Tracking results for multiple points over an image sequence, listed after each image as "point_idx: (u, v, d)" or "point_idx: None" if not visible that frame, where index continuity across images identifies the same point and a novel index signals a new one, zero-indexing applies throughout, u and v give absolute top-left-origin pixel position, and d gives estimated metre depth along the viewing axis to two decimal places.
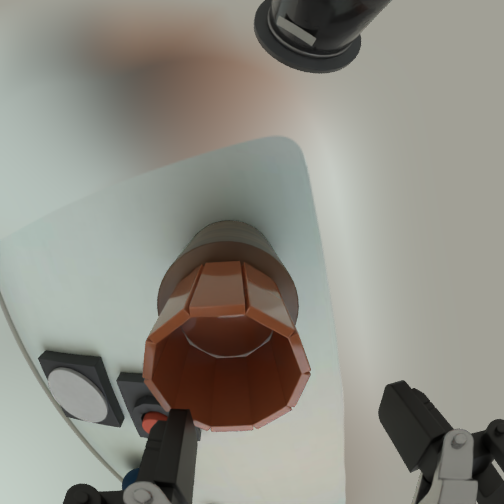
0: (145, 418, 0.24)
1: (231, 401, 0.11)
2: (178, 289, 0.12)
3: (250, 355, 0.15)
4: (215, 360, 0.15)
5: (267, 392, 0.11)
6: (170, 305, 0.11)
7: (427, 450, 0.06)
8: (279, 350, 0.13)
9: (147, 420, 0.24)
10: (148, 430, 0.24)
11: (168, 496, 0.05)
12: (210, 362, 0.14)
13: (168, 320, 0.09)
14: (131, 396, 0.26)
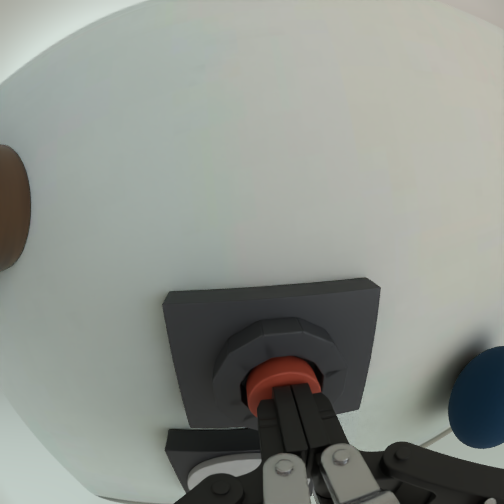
0: None
1: None
2: None
3: None
4: None
5: None
6: None
7: (312, 459, 0.07)
8: None
9: (254, 412, 0.11)
10: None
11: None
12: None
13: None
14: None
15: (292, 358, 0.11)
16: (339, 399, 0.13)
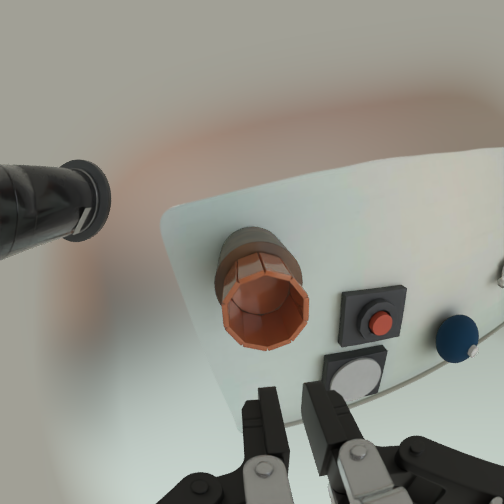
0: (373, 331, 0.34)
1: (298, 301, 0.21)
2: None
3: None
4: (289, 295, 0.25)
5: None
6: None
7: (329, 456, 0.07)
8: None
9: (374, 330, 0.34)
10: (384, 331, 0.34)
11: None
12: (288, 299, 0.24)
13: (231, 335, 0.20)
14: (356, 337, 0.37)
15: (383, 311, 0.34)
16: (392, 330, 0.37)
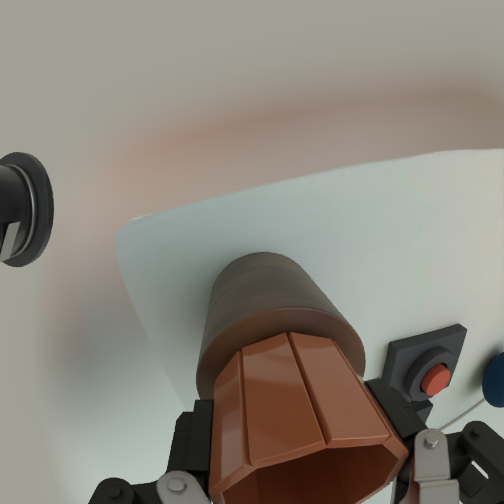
0: None
1: None
2: None
3: None
4: None
5: None
6: None
7: None
8: None
9: (427, 391, 0.20)
10: (439, 389, 0.21)
11: (200, 484, 0.06)
12: None
13: None
14: None
15: (440, 365, 0.21)
16: None
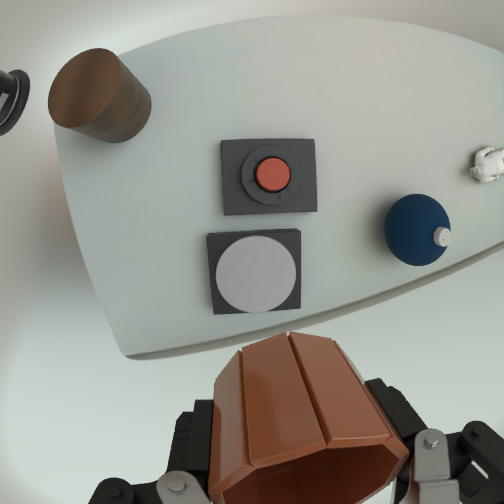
0: (260, 184, 0.27)
1: None
2: None
3: None
4: None
5: None
6: None
7: None
8: None
9: (260, 180, 0.26)
10: (278, 184, 0.26)
11: (200, 484, 0.06)
12: None
13: None
14: (245, 202, 0.29)
15: None
16: (303, 199, 0.29)
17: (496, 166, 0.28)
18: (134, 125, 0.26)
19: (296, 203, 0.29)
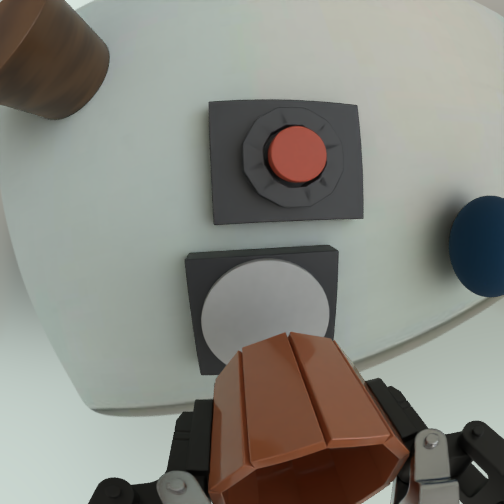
0: (276, 170, 0.15)
1: None
2: None
3: None
4: None
5: None
6: None
7: None
8: None
9: (275, 164, 0.14)
10: (308, 171, 0.15)
11: (200, 484, 0.06)
12: None
13: None
14: (249, 203, 0.17)
15: None
16: (344, 199, 0.17)
17: None
18: (79, 88, 0.14)
19: (332, 205, 0.18)
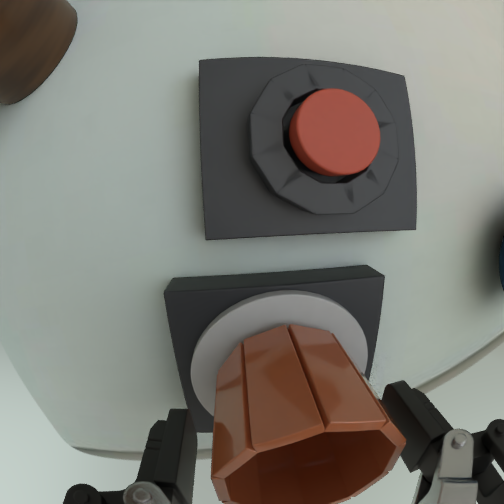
0: (304, 155, 0.09)
1: (373, 431, 0.08)
2: None
3: None
4: None
5: None
6: None
7: (427, 450, 0.06)
8: None
9: (305, 144, 0.09)
10: (355, 158, 0.09)
11: (168, 496, 0.05)
12: None
13: None
14: (259, 207, 0.11)
15: None
16: (393, 202, 0.12)
17: None
18: (32, 59, 0.08)
19: (378, 211, 0.12)
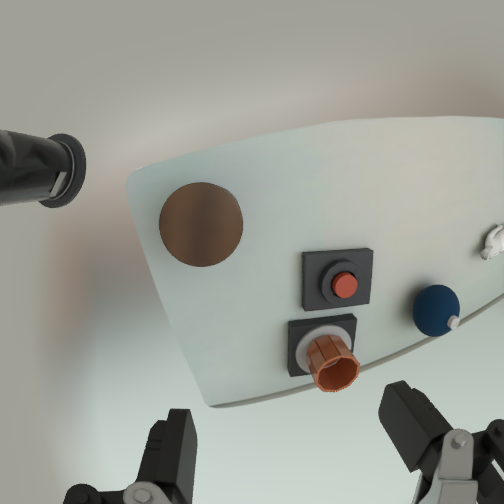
0: (336, 293, 0.35)
1: (352, 364, 0.34)
2: None
3: None
4: None
5: None
6: None
7: (427, 450, 0.06)
8: None
9: (336, 292, 0.35)
10: (349, 293, 0.35)
11: (168, 496, 0.05)
12: (342, 359, 0.37)
13: (318, 386, 0.32)
14: (320, 301, 0.37)
15: None
16: (361, 296, 0.38)
17: (501, 245, 0.36)
18: None
19: (356, 299, 0.38)
